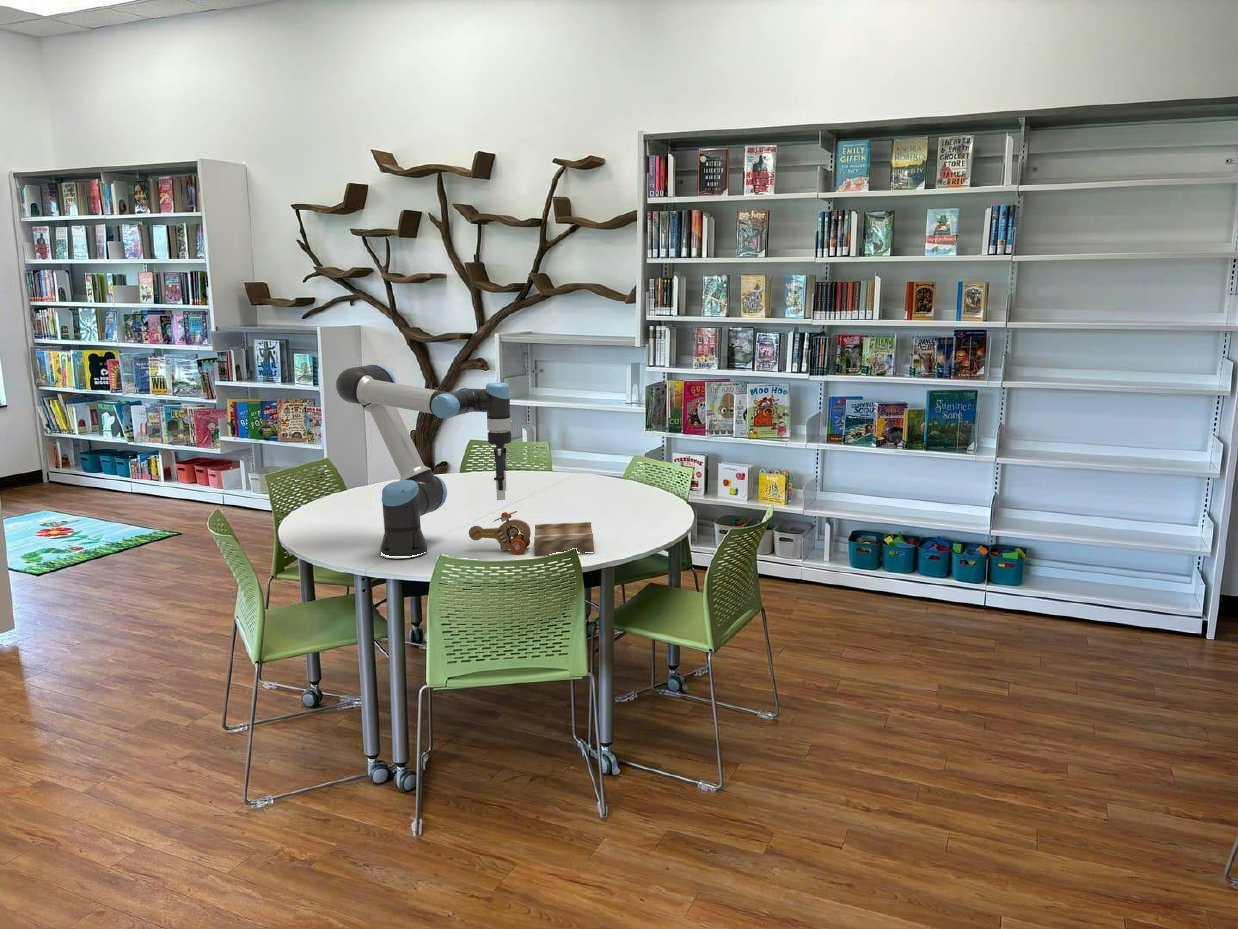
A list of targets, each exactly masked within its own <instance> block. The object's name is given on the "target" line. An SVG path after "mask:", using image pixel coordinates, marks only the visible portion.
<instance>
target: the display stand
mask: <svg viewBox="0 0 1238 929" xmlns="http://www.w3.org/2000/svg"><path fill="white" fill-rule="evenodd" d="M592 529H593V528H592V522H591V521H586V522H585V521H584V522H583V521H581V522H561V523H560V522H557V523H535V524H534V536H533V540H534V546H533V547H534V557H539V556H541V557H542V556H544V557H545V555H547V556H550V555H549V554H552V553H556V552H564V551H568V550H570V549H572V548H577V551H578V552H580V553H585V552H594V553H595V550H594V546H595V545H594V533H593V530H592Z"/></svg>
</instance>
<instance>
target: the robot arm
mask: <svg viewBox="0 0 1238 929" xmlns="http://www.w3.org/2000/svg"><path fill="white" fill-rule="evenodd" d="M335 388H336V393H337V394H338V395H339V397H340V398H341V399H342V400H343V401H345V402H348V403H349V404H357V405H361V406H362V408H363V410H364V411H365V412H368V413H370V414H371V416H372V420H373V421H374V423H375V425H376V427H377V429H378V432H379V433H380V435H381V437H382V440H383V441H384V444H385V446H386V448H387V450H388V452H389V455H390V457H391V458H392V461H393V464H394V466H395V468H396V469H397V471H398V473H399V476H400V478H399V480H397V481H392V482H390V483H387V484H386V485H384V487H383V488H382V490H381V502H382V513H383V514H382V516H383V526H384V527H383V528H384V532H383V537H382V541H381V545H380V548H379V549H380V550H379V551H380V553H381V552H382V553H383V554H385V555H389V556H412V555H417V554H421V553H424V552H427V550H428V543H427V540H426V539H425V536H424V533H423V531H422V526H421V517H422V516H424V515H427V514H429V513H433V512H434V511H436V510H438V509H440V508H441V507H442V506H444V504H445V502H446V499H447V498H448V497H447V496H448V488H447V485H446V483H445V481H444V480H443V479H442V478H441V477H439V476H438V475H434V473H433V471H432V469H431V468H430V467H428V466H426V465H425V464H424V462H423V461H422V458H421V456H420V454H419V452H418V450H417V447H416V445H415V443H414V441H413V440H412V437H411V435H410V432H409V431H408V429H407V427H406V424H405V422H404V420H403V418H402V416H401V414H400V411H399V410H398V409H404V410H410V411H415V412H419V413H426V414H432V415H434V416H435V417H437V418H439V419H451V418H454V417H457V416H460V415H465V414H468V413H486V429H487V430H488V432H487V443H488V444H491V445H495V447H494V448H493V455H494V463H495V477H493V481H495V487H496V488H495V489H496V491H495V492H496V501H506V492H507V471H508V469H509V468H508V467H506V458H507V447H505V445H507V444H510V443H512V432H511V429H512V426H511V425H512V423H513V420H512V419H511V395H510V394H511V393H510V385H509V384H508V383H507V382H489V383H487V384H485V388H467V387H462V388H461V387H460V388H456V389H454V390H453V391H451V392H450V391H449V392H447V391H441V390H437V389H430V388H425V387H421V386H420V387H419V386H413V385H407V384H401V383H397V382H396V378H395V376H394V373H392V371H391V370H390V369H389V368H388V367H387V366H385V365H381V364H367V365H363V366H355V367H349V368H346V369H344V370H343V371H342V372H341V373H339V375H338V376H337V378H336V382H335ZM428 551H429V550H428ZM427 553H428V552H427Z"/></svg>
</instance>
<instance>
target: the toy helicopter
mask: <svg viewBox="0 0 1238 929" xmlns="http://www.w3.org/2000/svg"><path fill="white" fill-rule="evenodd" d="M516 513H518V511H517V510H515V511H512V512H510V513H508V512H506V511H503V512H501V515H500V516H501V517H499V518H495V519H494V520H493V521H492V522H493V523H494V522H497V521H499V520H500V521H501V522H502V524H501V525H499V527H492V528H491V527H490V528H489V527H488V528H484V527H482V526H480V525H474V526H471V527H470V528H469V530H468V536H469V538H470V539H471V540H473V541H479V540H481V539H495V540H496V541H497V542H498V544H499V545H500V546H499V549H500V551H502V552H506V551H508V550H510V551H511V552H512V553H513V554H516V555H520V554H522V553H524V552H525V550H526V549H527V548H528V547H529V546H530V545H531V539H530V538H531V533H532V532H531V527H530V525H529V524H528V523H527V522H526V521H524V520H523V519H522V520H521V519H517V518H516V519H511V518H513V517H512V515H514V514H516Z"/></svg>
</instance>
